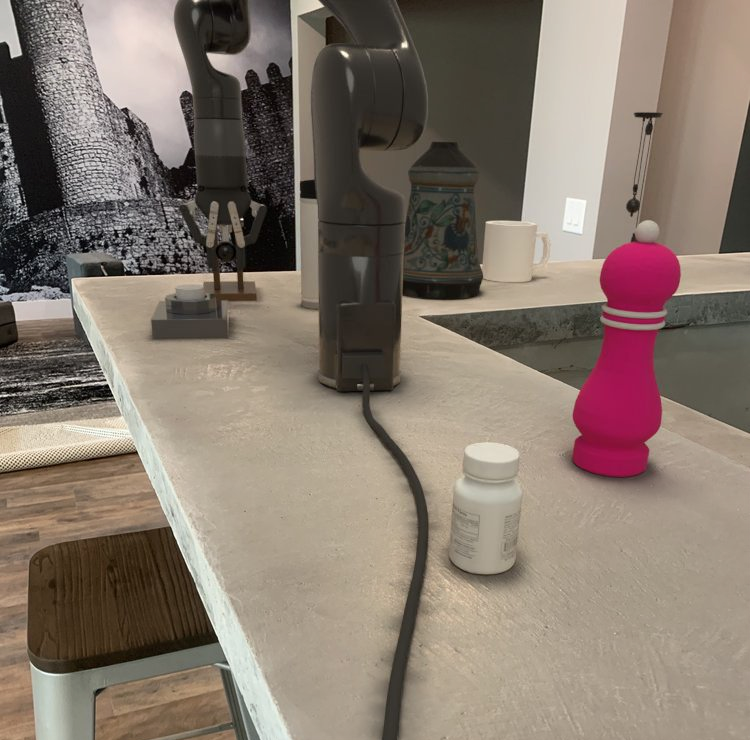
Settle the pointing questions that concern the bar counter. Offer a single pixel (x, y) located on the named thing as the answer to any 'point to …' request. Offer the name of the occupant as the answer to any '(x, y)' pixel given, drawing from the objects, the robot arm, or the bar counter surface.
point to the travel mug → (309, 245)
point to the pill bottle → (486, 509)
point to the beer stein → (441, 226)
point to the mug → (512, 251)
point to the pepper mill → (626, 359)
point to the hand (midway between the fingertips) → (227, 270)
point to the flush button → (190, 292)
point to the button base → (190, 318)
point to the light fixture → (633, 203)
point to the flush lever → (225, 245)
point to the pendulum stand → (230, 283)
